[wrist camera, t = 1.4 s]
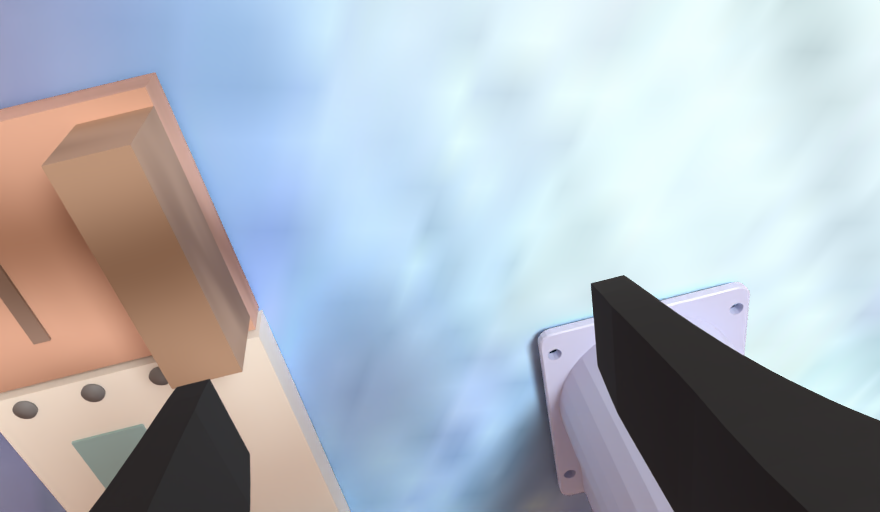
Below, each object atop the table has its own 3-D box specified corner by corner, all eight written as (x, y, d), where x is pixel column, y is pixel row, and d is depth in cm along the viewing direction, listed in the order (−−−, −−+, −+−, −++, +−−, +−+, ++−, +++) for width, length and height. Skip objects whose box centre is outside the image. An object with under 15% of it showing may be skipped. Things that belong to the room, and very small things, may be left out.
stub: (258, 306, 22) (248, 384, 19) (-11, 373, 22) (-66, 463, 19) (155, 72, 17) (119, 123, 14) (-185, 153, 17) (-294, 223, 14)
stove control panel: (353, 517, 29) (356, 583, 26) (149, 569, 28) (132, 641, 26) (262, 309, 22) (254, 370, 20) (-4, 375, 22) (-45, 445, 19)
